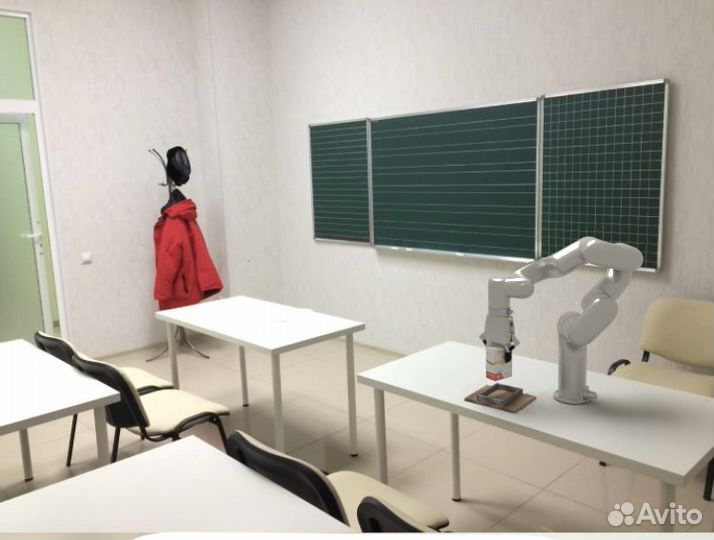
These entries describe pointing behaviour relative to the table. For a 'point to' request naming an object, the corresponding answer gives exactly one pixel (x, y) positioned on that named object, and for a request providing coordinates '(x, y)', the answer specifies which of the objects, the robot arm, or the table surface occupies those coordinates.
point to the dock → (501, 397)
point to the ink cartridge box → (497, 362)
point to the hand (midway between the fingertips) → (499, 359)
